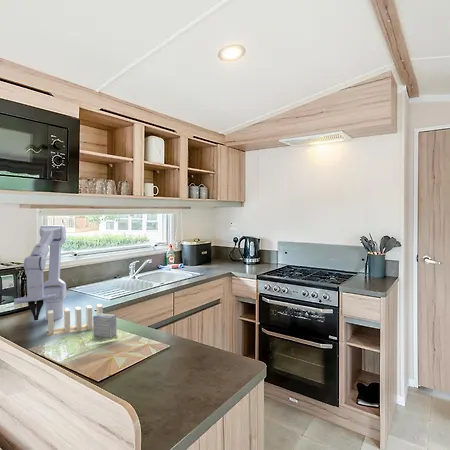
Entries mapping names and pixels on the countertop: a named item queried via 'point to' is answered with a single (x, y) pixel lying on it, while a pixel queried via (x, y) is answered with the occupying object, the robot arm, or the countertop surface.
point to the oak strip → (72, 329)
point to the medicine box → (104, 325)
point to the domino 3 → (78, 318)
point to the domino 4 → (89, 316)
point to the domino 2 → (66, 319)
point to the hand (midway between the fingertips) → (36, 319)
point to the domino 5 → (99, 309)
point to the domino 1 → (50, 322)
